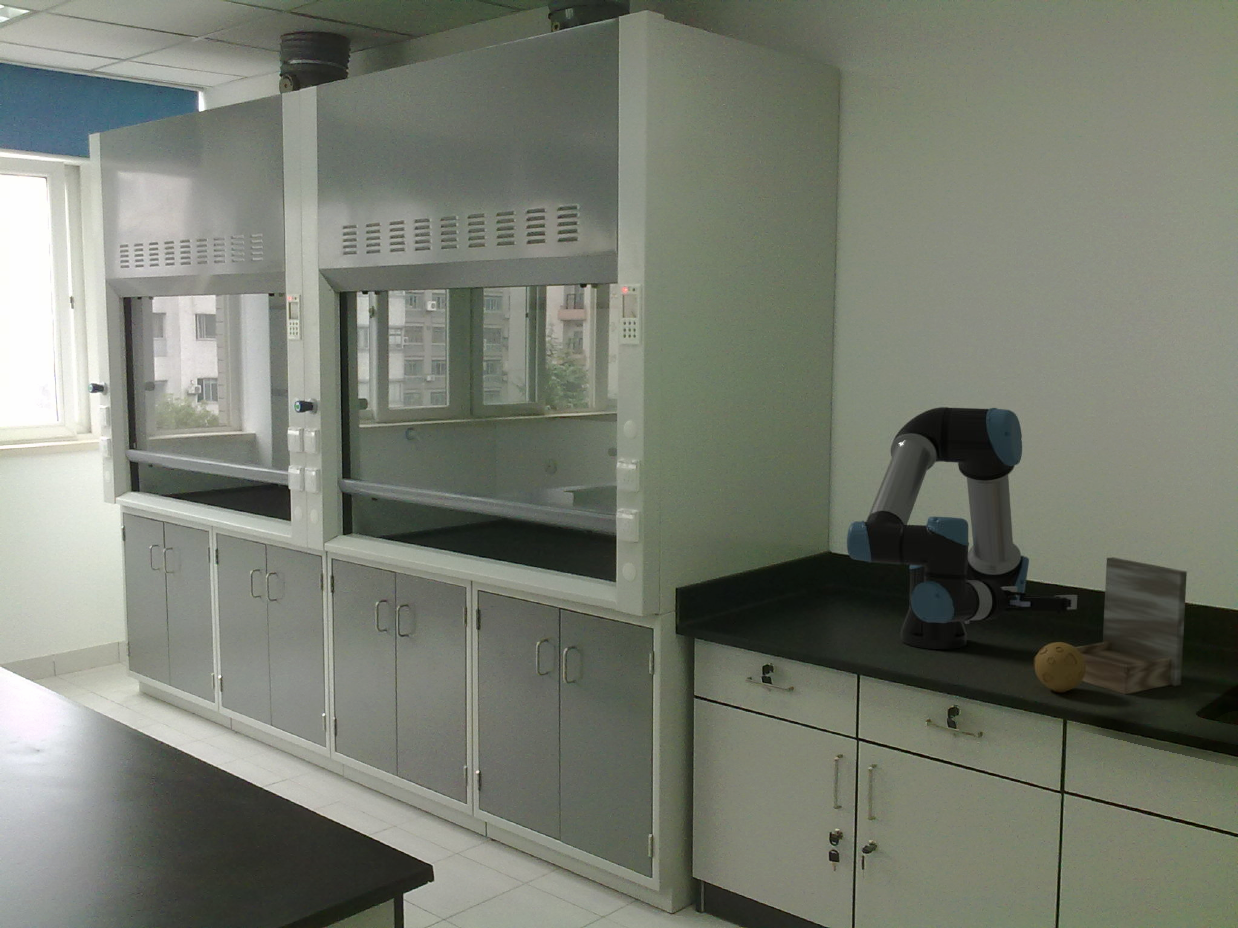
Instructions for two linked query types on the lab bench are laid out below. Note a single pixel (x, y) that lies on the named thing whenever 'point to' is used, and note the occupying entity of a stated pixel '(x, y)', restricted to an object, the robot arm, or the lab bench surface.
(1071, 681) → the stress ball
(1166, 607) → the ledge stand
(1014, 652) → the lab bench surface
